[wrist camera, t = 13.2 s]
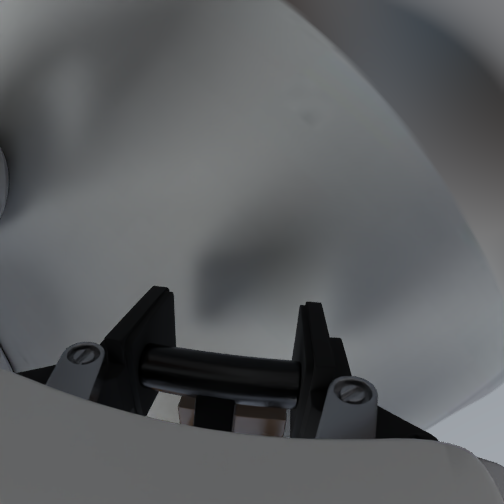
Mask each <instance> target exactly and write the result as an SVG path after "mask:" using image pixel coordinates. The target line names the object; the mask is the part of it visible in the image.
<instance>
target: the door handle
mask: <svg viewBox="0 0 504 504" xmlns="http://www.w3.org/2000/svg"><path fill="white" fill-rule="evenodd" d="M138 376H139V382H140V385H141V386H142V387H143V388H145V389H150V390H154V391H159V392H164V393H169V394H174V395H180V396H185V397H191V398H196V401H195V411H194V422H193V426H194V427H199V428H206V429H212V430H219V431H226V432H233V433H234V428H235V419H236V410H237V404H240V405H249V406H258V407H269V408H282V409H296V407H297V404H298V400H299V395H300V387H301V363H300V361H292V360H279V359H267V358H257V357H247V356H238V355H230V354H221V353H214V352H206V351H199V350H192V349H186V348H179V347H173V346H167V345H161V344H155V343H148V344H147V345H146V346H145V347H144V349H143V351H142V354H141V357H140V361H139V368H138Z"/></svg>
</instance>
